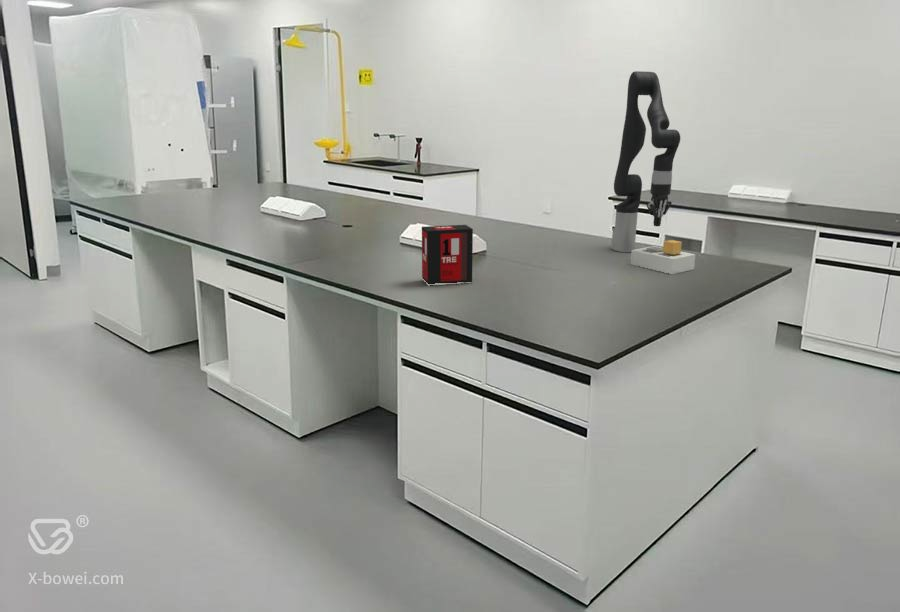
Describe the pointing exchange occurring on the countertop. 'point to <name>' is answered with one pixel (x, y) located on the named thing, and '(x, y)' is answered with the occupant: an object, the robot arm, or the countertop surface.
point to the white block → (654, 249)
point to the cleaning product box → (447, 254)
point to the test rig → (663, 261)
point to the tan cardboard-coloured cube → (672, 247)
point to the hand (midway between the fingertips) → (656, 225)
